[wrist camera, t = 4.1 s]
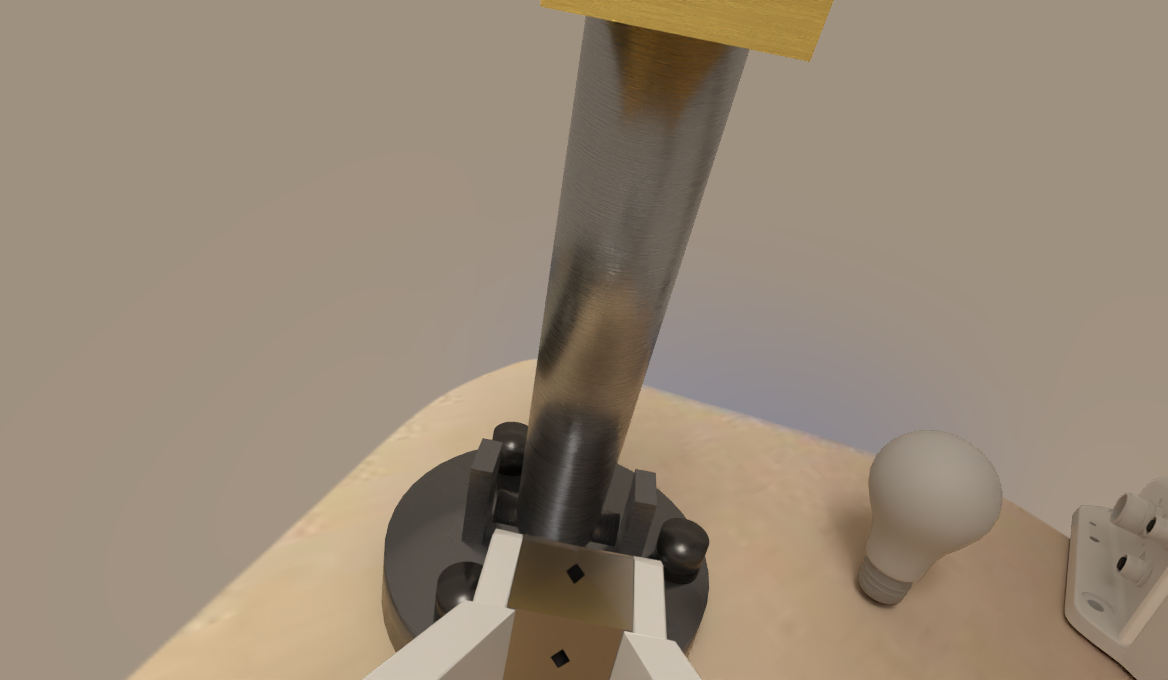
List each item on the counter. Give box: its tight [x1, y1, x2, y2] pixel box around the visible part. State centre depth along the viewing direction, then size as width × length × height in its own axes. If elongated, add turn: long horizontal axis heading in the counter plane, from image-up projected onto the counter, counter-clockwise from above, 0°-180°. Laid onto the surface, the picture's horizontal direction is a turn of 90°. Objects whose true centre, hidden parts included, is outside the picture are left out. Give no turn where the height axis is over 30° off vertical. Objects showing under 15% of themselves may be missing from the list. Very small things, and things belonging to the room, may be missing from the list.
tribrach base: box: [382, 422, 709, 657], centre depth 31 cm, size 16×16×7 cm
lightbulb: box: [858, 430, 1002, 604], centre depth 34 cm, size 6×6×11 cm
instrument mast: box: [493, 0, 834, 547], centre depth 21 cm, size 8×6×31 cm
